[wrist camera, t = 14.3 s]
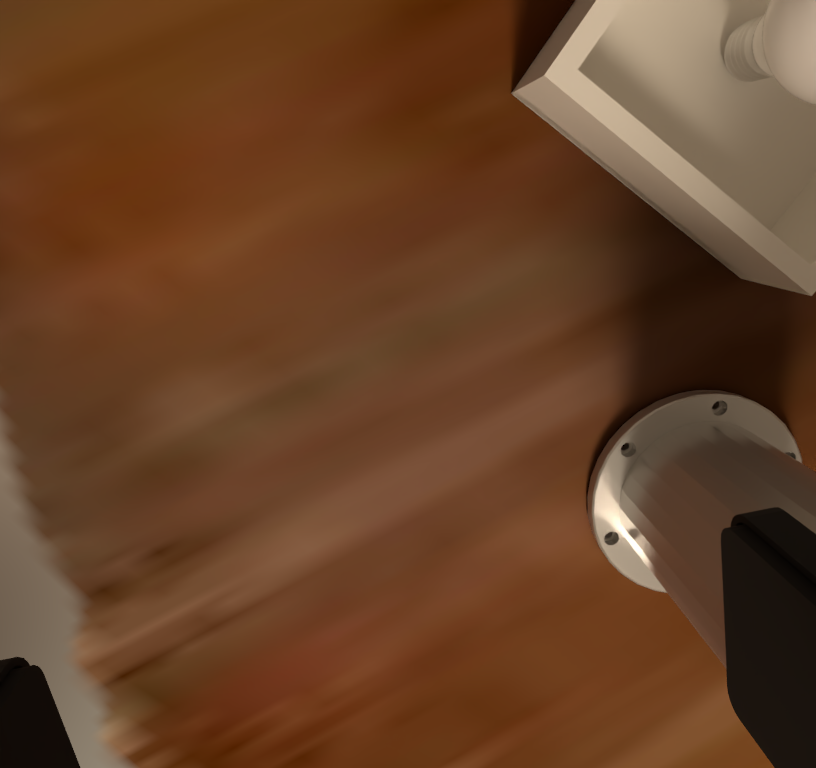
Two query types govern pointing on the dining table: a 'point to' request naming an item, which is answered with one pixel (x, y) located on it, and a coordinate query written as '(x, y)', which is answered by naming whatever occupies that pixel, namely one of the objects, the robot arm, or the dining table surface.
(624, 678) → the dining table surface
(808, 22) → the lightbulb
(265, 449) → the dining table surface
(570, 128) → the bin
